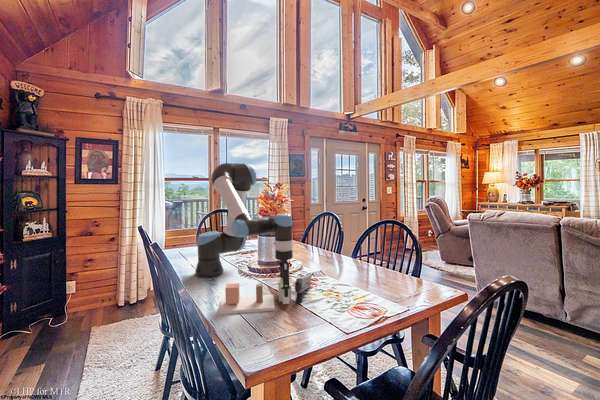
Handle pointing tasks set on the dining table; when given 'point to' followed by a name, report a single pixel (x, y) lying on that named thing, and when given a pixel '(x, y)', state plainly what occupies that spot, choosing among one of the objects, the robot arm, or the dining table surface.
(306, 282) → the grey curved bar
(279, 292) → the pale green block
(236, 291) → the stand
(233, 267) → the dining table surface
